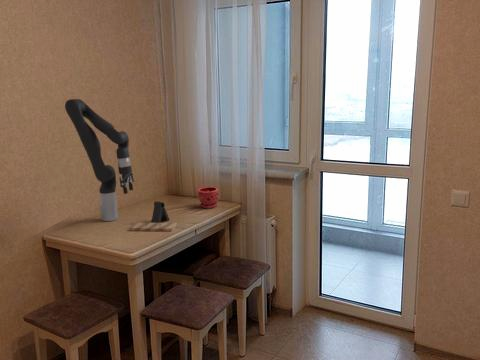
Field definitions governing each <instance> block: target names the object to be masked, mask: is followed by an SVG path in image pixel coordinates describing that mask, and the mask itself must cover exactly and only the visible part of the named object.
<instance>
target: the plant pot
mask: <svg viewBox="0 0 480 360" xmlns="http://www.w3.org/2000/svg"><path fill="white" fill-rule="evenodd" d="M197 194H198V199H199V202H200V204H199V205H200V207H202V208H204V209H212V208H213V209H214V208H216V207H217V206H218V204H219V203H218V199H219V189H218V188H217V187H214V186H205V187H201V188H199V189H198V190H197Z"/></svg>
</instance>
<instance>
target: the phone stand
mask: <svg viewBox="0 0 480 360" xmlns="http://www.w3.org/2000/svg"><path fill="white" fill-rule="evenodd" d="M153 205H154V206H153V211H152V212H153V213H152V216H151V222H150V223H163V222H164V223H167V222H170V217H169V215H168V213H167V210H166V207H165V203H164V202H163V201H158V200H157V201H154V202H153Z"/></svg>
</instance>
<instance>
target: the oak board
mask: <svg viewBox="0 0 480 360" xmlns="http://www.w3.org/2000/svg"><path fill="white" fill-rule="evenodd" d="M176 227H177V222H164V223H152V222H139V221H138V222H135V223H134V224H133V225H132V226H130V227H129V231H134V232H135V231H137V232H141V231H142V232H144V231H145V232H172V231H173V230H174V229H175V228H176Z"/></svg>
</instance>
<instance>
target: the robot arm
mask: <svg viewBox="0 0 480 360" xmlns="http://www.w3.org/2000/svg"><path fill="white" fill-rule="evenodd" d="M64 109H65V112H66V113H67V116H69V118H70V120H71V123H72V124H73V126H74V128H75V130H76V132H77V135H78V137H79V138H80V141H81V144H82V147H83V148H84V150H85V152H86V155H87V157H88V159H89V161H90V164H91V167H92V170H93V173H94V175H95V178H96V179H97V180H98V181H99V182H100V183H101V184H100V187H99V188H98V189H99V198H100V204H99V213H100V220H101V221H103V222H113V221H114V222H115V221H117V220H119V214H118V203H117V194H116V193H117V192H116V187H117V176H116V175H117V173H116V170H115V168H114V166H112V165H111V164H110V165H109V164H105V162H104V160H103V158H102V151H101V150H102V148H101V142H100V140H99V138H98V136H97V133H96V132H95V131H94V129H93V128H92V127H91V125H89V124H88V122H87V121H86V120H85V119H87V120H88V121H89V122H90V123H91V124H92V125H93V126H94V127H95V129H97V130H98V131H100V132H101V133H102V134H104V135H105V136H106V137H107V138H108V139H109V140H110V141H111V142H112V143H114V144H116V145H117V148H116V151H115V152H116V160H117V162H116V163H117V169H118V174H119V175H121V176H120V177H119V184H120V188H122V190H123V194H124V195H125V194H126V195H127V194H128V190H129V191H134V186H133V184H134V182H135V178H134V174H133V168H132V163H131V162H132V161H131V158H130V152H129V146H130V145H129V144H130V143H129V142H130V141H129V135H128V133H127V132H125V131H123V130H122V131H118V130H116V129H115V126H114V125H113V124H112V123H110V122H109V121H107V120H106V119H104V118H103V117H101V116H100V115H99V114H98V113H96V112H95V110H93V109H92V108H91V107H90V106H89V105H88V104H87V103H86V102H85V101H83V100H82V99H80V98H72V99H71V98H70V99H67V100H66V101H65V104H64ZM128 188H129V189H128Z"/></svg>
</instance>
